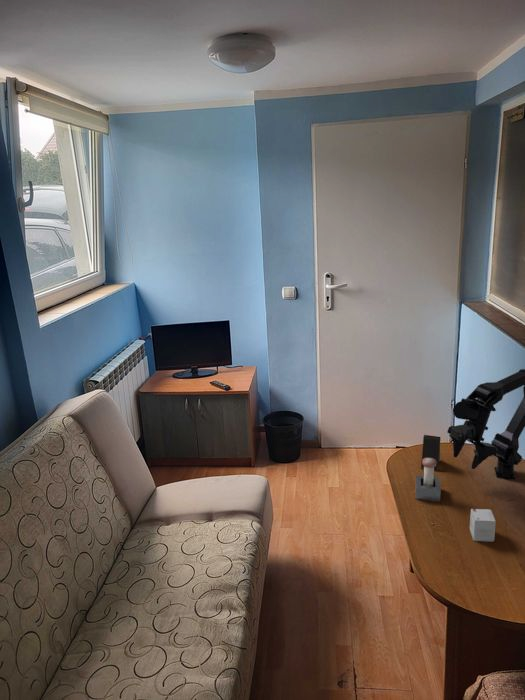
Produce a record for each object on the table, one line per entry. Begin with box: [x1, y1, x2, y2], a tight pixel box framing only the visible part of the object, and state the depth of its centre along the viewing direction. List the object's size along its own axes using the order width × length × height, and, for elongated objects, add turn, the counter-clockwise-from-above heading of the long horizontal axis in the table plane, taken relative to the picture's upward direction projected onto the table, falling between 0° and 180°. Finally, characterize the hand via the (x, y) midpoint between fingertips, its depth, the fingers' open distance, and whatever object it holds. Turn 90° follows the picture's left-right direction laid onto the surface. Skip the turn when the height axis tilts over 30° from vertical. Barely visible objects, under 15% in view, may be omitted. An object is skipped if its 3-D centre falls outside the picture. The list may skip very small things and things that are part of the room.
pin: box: [421, 458, 436, 487], centre depth 179 cm, size 5×5×13 cm
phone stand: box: [420, 434, 441, 472], centre depth 198 cm, size 9×6×12 cm, turn 156°
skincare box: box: [469, 508, 497, 542], centre depth 158 cm, size 6×6×7 cm
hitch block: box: [415, 475, 442, 502], centre depth 181 cm, size 8×8×4 cm
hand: (463, 462), depth 180 cm, fingers open, 9 cm apart
